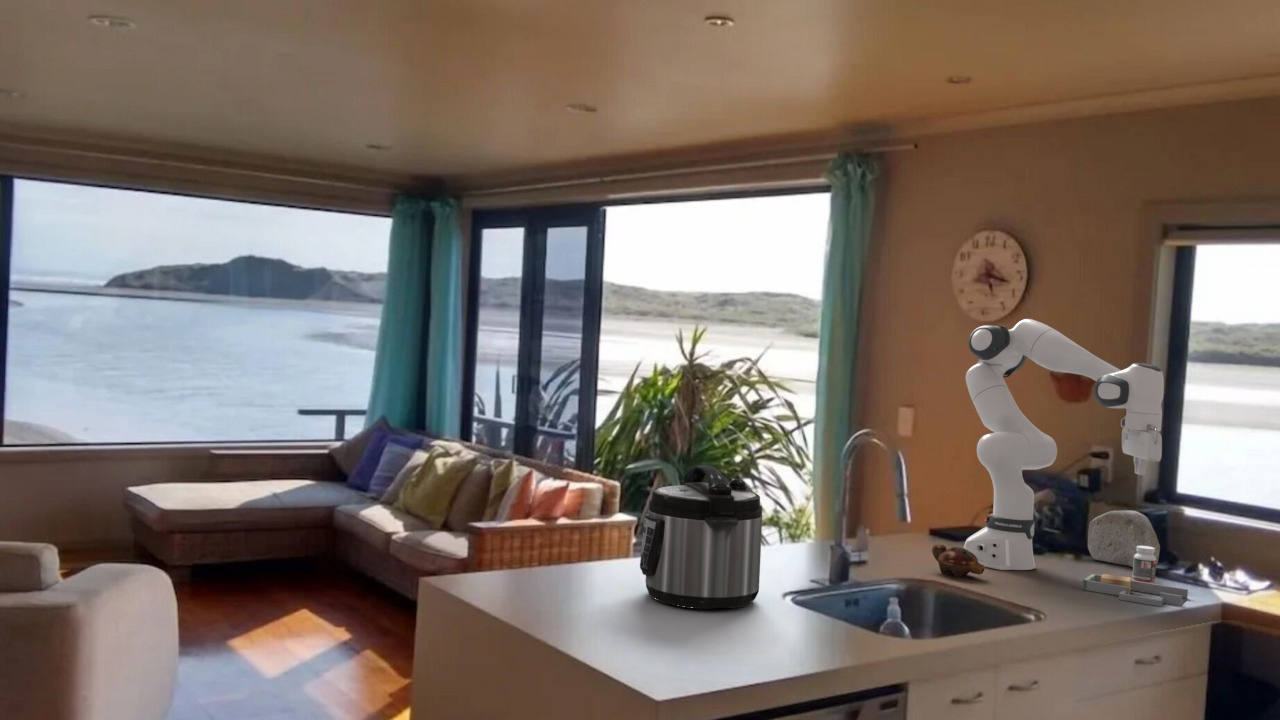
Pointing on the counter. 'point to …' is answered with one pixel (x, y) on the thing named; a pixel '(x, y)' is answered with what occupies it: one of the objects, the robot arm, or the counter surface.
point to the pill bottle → (1144, 564)
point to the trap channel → (1166, 592)
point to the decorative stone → (1120, 536)
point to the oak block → (1117, 581)
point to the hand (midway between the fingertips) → (1139, 474)
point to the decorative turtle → (956, 560)
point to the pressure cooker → (703, 542)
